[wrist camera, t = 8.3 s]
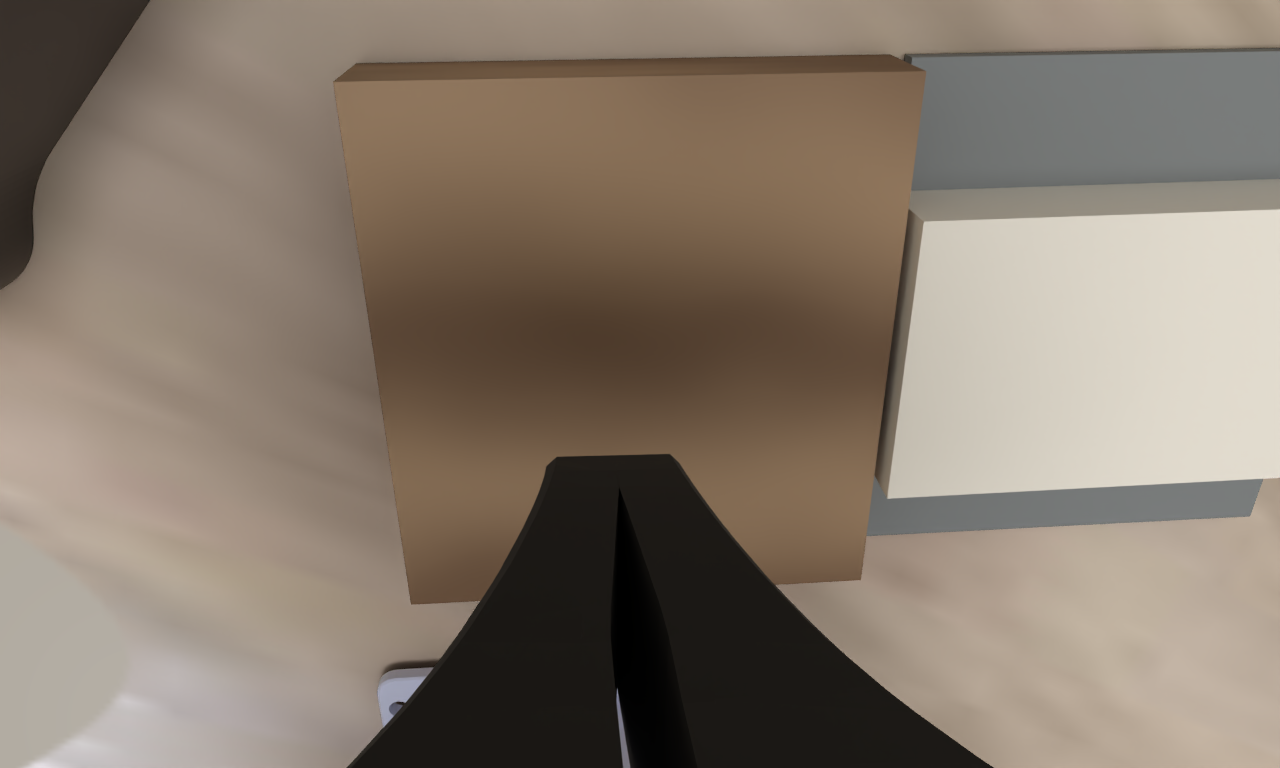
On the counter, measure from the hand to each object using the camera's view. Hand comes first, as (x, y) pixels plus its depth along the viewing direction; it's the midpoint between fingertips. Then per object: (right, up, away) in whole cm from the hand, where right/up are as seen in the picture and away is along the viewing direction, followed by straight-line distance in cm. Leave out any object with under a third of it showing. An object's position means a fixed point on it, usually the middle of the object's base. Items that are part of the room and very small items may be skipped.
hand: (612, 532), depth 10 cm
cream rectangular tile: (+10, +3, +10) cm, 14 cm away
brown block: (0, +3, +10) cm, 10 cm away
